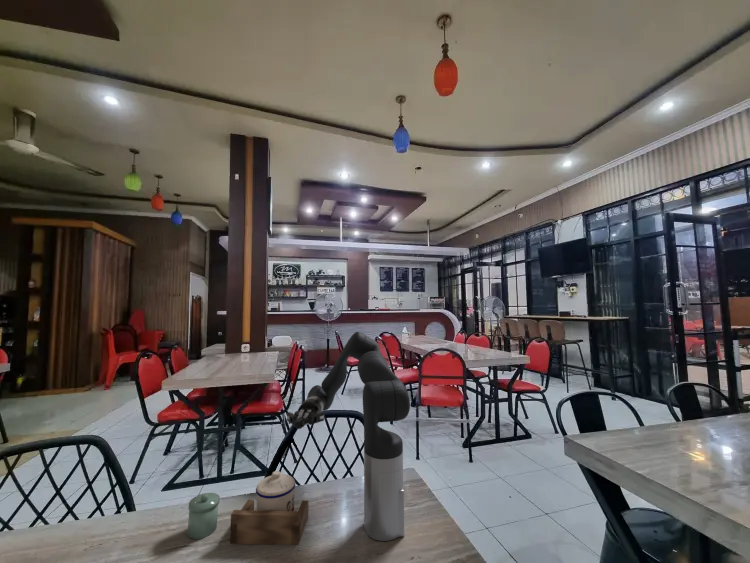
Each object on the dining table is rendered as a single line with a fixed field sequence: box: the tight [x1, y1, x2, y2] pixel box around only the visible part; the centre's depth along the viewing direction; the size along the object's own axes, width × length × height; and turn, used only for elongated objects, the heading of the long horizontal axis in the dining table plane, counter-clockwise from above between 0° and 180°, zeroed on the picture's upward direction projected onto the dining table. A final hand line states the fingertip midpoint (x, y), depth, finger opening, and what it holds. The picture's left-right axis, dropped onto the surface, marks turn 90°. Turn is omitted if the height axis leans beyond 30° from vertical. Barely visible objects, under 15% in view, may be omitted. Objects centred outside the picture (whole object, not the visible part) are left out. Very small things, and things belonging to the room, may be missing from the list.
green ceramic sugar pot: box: [186, 492, 221, 540], centre depth 75 cm, size 6×6×8 cm
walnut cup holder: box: [229, 499, 310, 546], centre depth 74 cm, size 15×9×6 cm, turn 88°
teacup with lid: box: [255, 470, 296, 511], centre depth 78 cm, size 12×9×12 cm
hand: (298, 425), depth 97 cm, fingers closed
